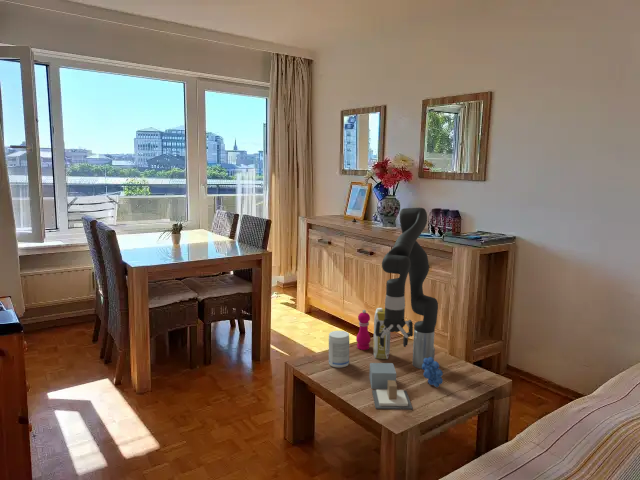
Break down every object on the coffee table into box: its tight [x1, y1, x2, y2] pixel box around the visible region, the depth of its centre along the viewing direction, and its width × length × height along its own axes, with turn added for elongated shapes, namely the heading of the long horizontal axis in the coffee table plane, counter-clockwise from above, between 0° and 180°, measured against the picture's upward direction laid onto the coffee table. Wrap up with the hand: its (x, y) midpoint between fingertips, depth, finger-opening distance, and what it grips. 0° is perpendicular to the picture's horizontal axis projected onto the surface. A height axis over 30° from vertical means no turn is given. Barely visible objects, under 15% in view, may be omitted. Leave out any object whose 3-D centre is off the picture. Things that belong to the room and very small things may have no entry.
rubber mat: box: [371, 389, 413, 411], centre depth 186 cm, size 14×14×1 cm
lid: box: [375, 380, 408, 406], centre depth 185 cm, size 11×11×6 cm
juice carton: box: [372, 307, 391, 360], centre depth 226 cm, size 9×8×24 cm
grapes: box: [421, 357, 444, 388], centre depth 197 cm, size 12×7×12 cm, turn 31°
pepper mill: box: [355, 309, 372, 351], centre depth 236 cm, size 7×7×20 cm
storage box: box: [369, 362, 397, 390], centre depth 199 cm, size 10×10×7 cm
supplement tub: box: [328, 330, 350, 369], centre depth 217 cm, size 10×10×15 cm
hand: (393, 346), depth 183 cm, fingers open, 8 cm apart
